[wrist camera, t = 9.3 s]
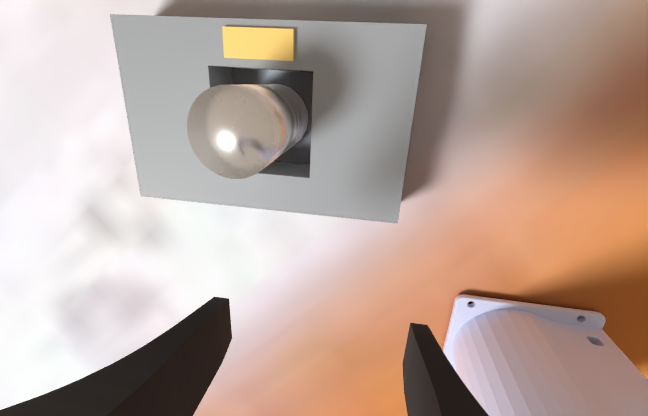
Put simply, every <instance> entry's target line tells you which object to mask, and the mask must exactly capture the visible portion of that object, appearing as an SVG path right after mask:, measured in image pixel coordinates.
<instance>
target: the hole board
mask: <svg viewBox="0 0 648 416" xmlns="http://www.w3.org/2000/svg"><path fill="white" fill-rule="evenodd" d="M110 17H111V23H112V29H113V35H114V41H115V47H116V53H117V58H118V64H119V70H120V76H121V82H122V88H123V94H124V100H125V106H126V112H127V118H128V124H129V130H130V135H131V141H132V147H133V153H134V159H135V165H136V171H137V177H138V183H139V189H140V195H141V196H145V197H154V198H163V199H173V200H182V201H192V202H201V203H210V204H220V205H229V206H239V207H248V208H257V209H267V210H276V211H286V212H295V213H304V214H314V215H323V216H333V217H342V218H352V219H361V220H370V221H380V222H389V223H398V218H399V211H400V204H401V197H402V190H403V184H404V177H405V170H406V163H407V156H408V150H409V143H410V136H411V129H412V122H413V115H414V109H415V102H416V95H417V88H418V81H419V75H420V68H421V61H422V54H423V47H424V41H425V34H426V27H427V24H404V23H372V22H340V21H307V20H275V19H243V18H210V17H178V16H146V15H114V14H110ZM232 68H245V69H265V70H284V71H304V72H313V94H312V122H311V151H310V165H307V164H295V163H284V162H272V163H270V164H269V165H268V166H266V167H265V168H264V169H262V170H261V171H260V172H258V173H257V174H255V175H253V176H251V177H248V178H244V179H230V178H226V177H222V176H220V175H218V174H216V173H214V172H212V171H211V170H209V169H208V168H207V167H206V166H205V165H203V164H202V162H201V161H200V160H199V159H198V158H197V156H196V155H195V153H194V151H193V149H192V147H191V145H190V142H189V139H188V134H187V118H188V113H189V110H190V107H191V106H192V104H193V102H194V101H195V99H196V98H197V97H198V96H199V95H200V94H201V93H202V92H204V91H205V90H207V89H209V88H211V87H214V86H218V85H233V80H232Z"/></svg>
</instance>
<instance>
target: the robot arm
mask: <svg viewBox="0 0 648 416" xmlns="http://www.w3.org/2000/svg"><path fill="white" fill-rule="evenodd" d="M470 301H473V303H472V304H468V302H470ZM579 316H582V317H580V318H578V317H579ZM605 322H606V318H605V317H604V316H603V315H602V314H601V313H600V312H595V311H587V310H580V309H572V308H564V307H557V306H549V305H541V304H533V303H526V302H518V301H510V300H503V299H495V298H487V297H479V296H472V295H458V296H457V297H456V299H455V302H454V306H453V310H452V314H451V319H450V323H449V327H448V331H447V335H446V339H445V343H444V348H443V351H442V349H441V347H440V346H439V344H438V342H437V341H436V339H435V337H434V335H433V334H432V332H431V330H430V328H429V327H428V326H427V325H423V324H415V323H410V328H409V333H408V338H407V344H406V349H405V354H404V359H403V379H404V393H405V400H406V406H407V413H408V416H648V379H647V378H646V377H645V376H644V375H643V374H642V373H641V372H640V370H639V369H638V368H637V367H636V366H635V365H634V364H633V363H632V362H631V361H630V359H629V358H628V357H627V356H626V355H625V354H624V353H623V352H622V351H621V350H620V349H619V347H618V346H617V345H616V344H615V343H614V342H613V341H612V340H611V339H610V338H609V336H608V335H607V334H606V333H605V332H604V331H603V330H602V328H603V326H604V324H605ZM231 339H232V333H231V320H230V307H229V299H227V298H219V297H214V298H212V299H211V300H209V301H208V302H207V303H205V304H204V305H203V306H201V307H200V308H198V309H197V310H196V311H194V312H193V313H192V314H190V315H189V316H188V317H186V318H185V319H183V320H182V321H181V322H179V323H178V324H176V325H175V326H174V327H172V328H171V329H169V330H168V331H166V332H165V333H163V334H162V335H160V336H159V337H157V338H155V339H154V340H152V341H151V342H149V343H148V344H146V345H145V346H143V347H141V348H140V349H138V350H136V351H135V352H133V353H131V354H129V355H128V356H126V357H124V358H122V359H120V360H119V361H117V362H115V363H113V364H111V365H109V366H107V367H105V368H103V369H101V370H99V371H97V372H94V373H92V374H90V375H88V376H86V377H84V378H82V379H80V380H78V381H75V382H73V383H71V384H68V385H66V386H64V387H61V388H59V389H56V390H54V391H51V392H49V393H47V394H44V395H41V396H39V397H36V398H33V399H31V400H28V401H25V402H22V403H19V404H16V405H14V406H11V407H8V408H5V409H2V410H0V416H193V414H194V412H195V411H196V409H197V407H198V405H199V403H200V402H201V400H202V398H203V396H204V394H205V393H206V391H207V389H208V387H209V385H210V384H211V382H212V380H213V378H214V376H215V375H216V373H217V371H218V369H219V367H220V365H221V363H222V361H223V359H224V357H225V354H226V352H227V349H228V347H229V344H230V342H231Z"/></svg>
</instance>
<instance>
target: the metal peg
mask: <svg viewBox="0 0 648 416" xmlns="http://www.w3.org/2000/svg"><path fill="white" fill-rule="evenodd" d="M307 125H308V113H307V109H306V106H305V103H304V101H303V100H302V98H301V97H300V96H299V94H298V93H297V92H295V91H294V90H293V89H291V88H290V87H288V86H285V85H282V84H241V85H218V86H214V87H211V88H209V89H207V90H205V91H204V92H202V93H201V94H200V95H199V96H198V97H197V98H196V99H195V101H194V102H193V104H192V106H191V107H190V110H189V113H188V118H187V134H188V139H189V142H190V145H191V147H192V149H193V151H194V153H195V155H196V156H197V158H198V159H199V160H200V161H201V162H202V164H203V165H205V166H206V167H207V168H208V169H209V170H211V171H212V172H214V173H216V174H218V175H220V176H222V177H226V178H230V179H244V178H248V177H251V176H253V175H255V174H257V173H258V172H260V171H261V170H262V169H264V168H265V167H266V166H268V165H269V164H270V163H272V162H273V161H274V160H276V159H277V158H278V157H279V156H281V155H282V154H283V153H285V152H286V151H287V150H289V149H290V148H291V147H293V146H294V145H295V144H296V143H298V142H299V141H300V140H301V138H302V137H303V136H304V134H305V132H306V129H307Z"/></svg>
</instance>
